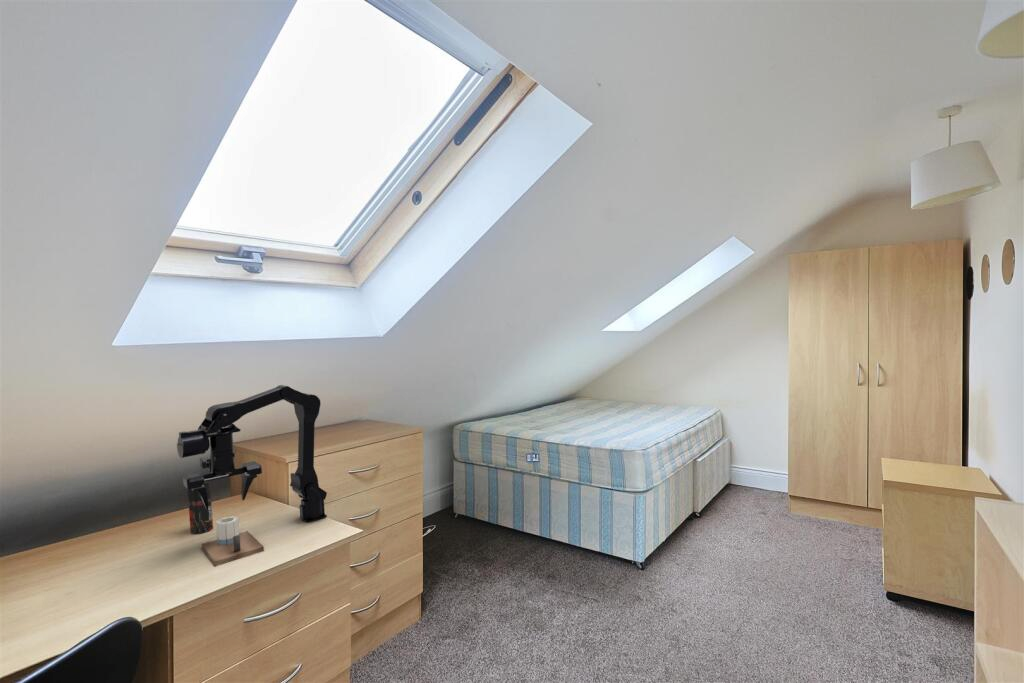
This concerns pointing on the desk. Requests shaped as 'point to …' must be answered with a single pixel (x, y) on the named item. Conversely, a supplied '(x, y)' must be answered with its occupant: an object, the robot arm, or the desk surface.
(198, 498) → the deodorant
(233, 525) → the sleeve
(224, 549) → the pin board
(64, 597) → the desk surface
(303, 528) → the desk surface
